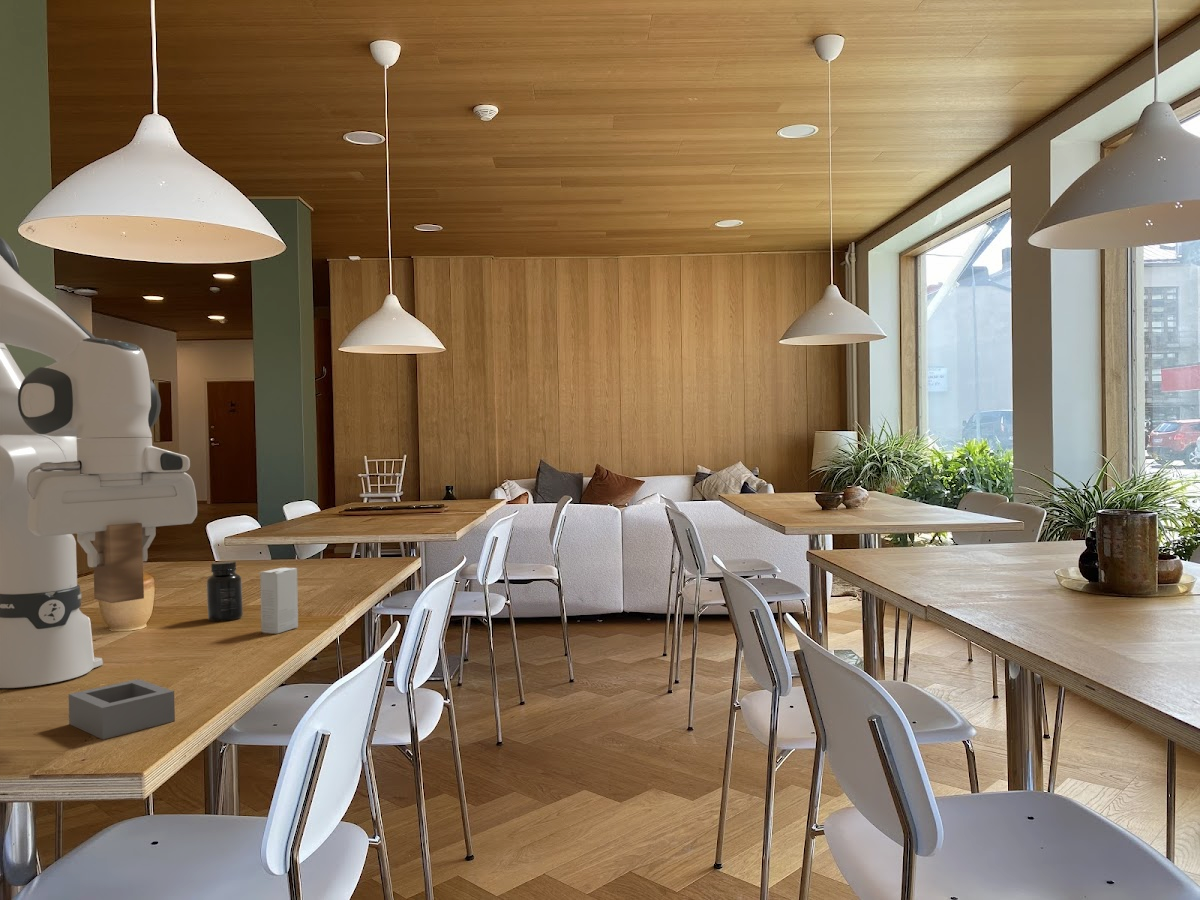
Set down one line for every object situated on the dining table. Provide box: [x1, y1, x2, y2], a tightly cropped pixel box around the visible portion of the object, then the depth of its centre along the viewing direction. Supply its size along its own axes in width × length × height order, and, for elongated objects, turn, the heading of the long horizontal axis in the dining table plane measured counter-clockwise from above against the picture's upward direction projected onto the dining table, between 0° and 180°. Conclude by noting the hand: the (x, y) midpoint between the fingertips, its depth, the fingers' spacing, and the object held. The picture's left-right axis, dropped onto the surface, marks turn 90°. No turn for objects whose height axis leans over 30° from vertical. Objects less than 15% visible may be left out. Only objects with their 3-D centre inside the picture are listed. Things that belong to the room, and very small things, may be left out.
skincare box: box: [259, 567, 299, 635], centre depth 174 cm, size 6×4×12 cm
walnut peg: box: [92, 523, 145, 604], centre depth 117 cm, size 4×6×10 cm
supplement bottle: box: [206, 560, 244, 622], centre depth 187 cm, size 7×7×12 cm
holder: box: [68, 678, 176, 741], centre depth 117 cm, size 10×9×4 cm
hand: (118, 564), depth 117 cm, fingers closed on walnut peg, 4 cm apart
